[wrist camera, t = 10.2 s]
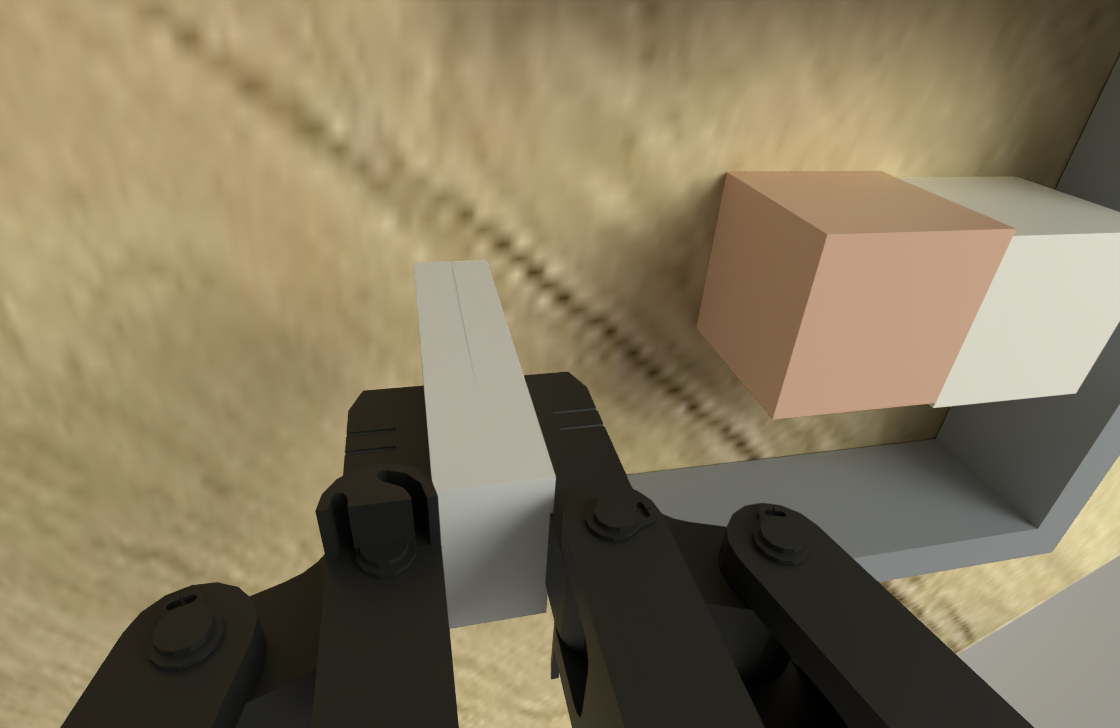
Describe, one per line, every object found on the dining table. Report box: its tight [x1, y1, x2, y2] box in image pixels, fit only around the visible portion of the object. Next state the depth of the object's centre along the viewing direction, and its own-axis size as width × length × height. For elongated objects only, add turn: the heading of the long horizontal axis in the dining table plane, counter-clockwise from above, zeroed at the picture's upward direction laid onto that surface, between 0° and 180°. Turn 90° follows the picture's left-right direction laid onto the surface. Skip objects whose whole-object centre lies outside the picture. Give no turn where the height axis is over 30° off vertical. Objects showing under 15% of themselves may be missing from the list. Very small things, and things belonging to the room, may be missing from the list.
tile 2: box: [896, 176, 1120, 408], centre depth 19 cm, size 5×5×5 cm
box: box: [627, 56, 1120, 582], centre depth 18 cm, size 20×18×5 cm
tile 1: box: [696, 171, 1016, 419], centre depth 17 cm, size 5×5×5 cm
